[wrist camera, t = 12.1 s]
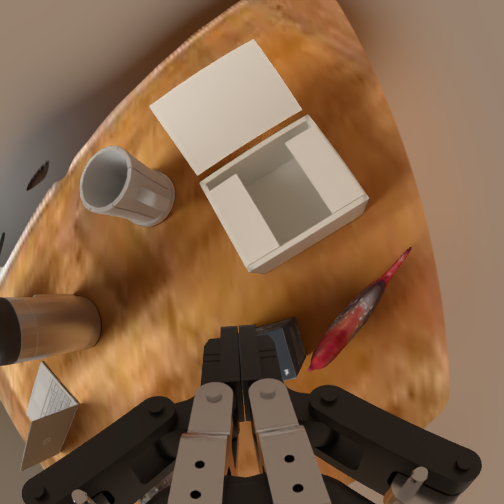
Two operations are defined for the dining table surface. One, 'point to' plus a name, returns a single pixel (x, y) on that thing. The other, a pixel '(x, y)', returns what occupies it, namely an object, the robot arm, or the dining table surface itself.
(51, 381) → the laptop
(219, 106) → the flap
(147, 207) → the cup
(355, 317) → the decorative bird figurine
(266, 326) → the box
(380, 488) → the robot arm
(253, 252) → the carton
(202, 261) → the dining table surface
